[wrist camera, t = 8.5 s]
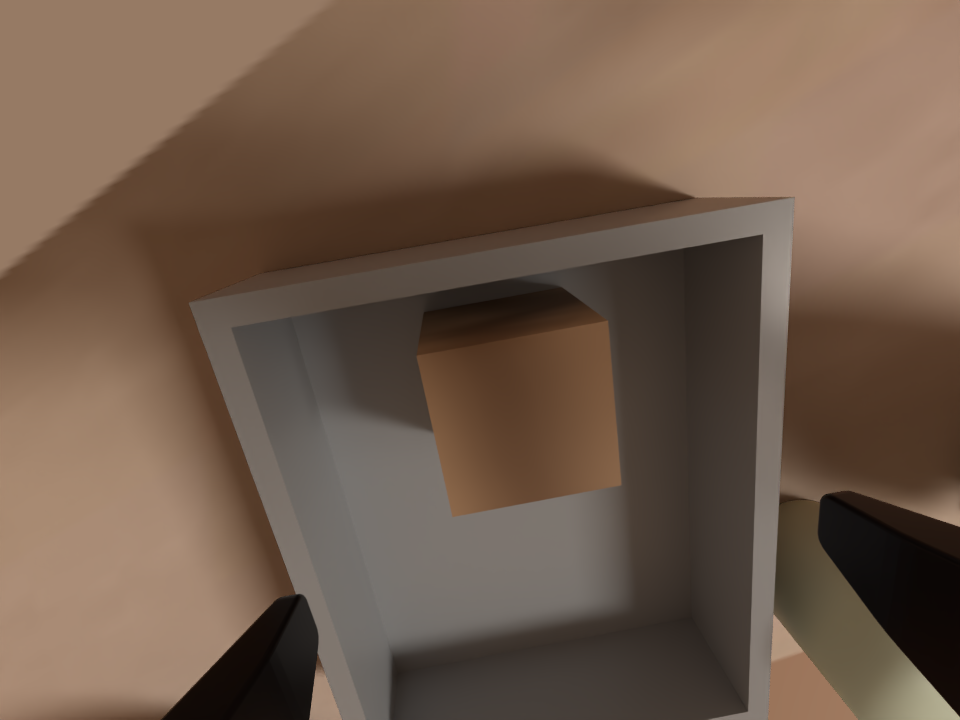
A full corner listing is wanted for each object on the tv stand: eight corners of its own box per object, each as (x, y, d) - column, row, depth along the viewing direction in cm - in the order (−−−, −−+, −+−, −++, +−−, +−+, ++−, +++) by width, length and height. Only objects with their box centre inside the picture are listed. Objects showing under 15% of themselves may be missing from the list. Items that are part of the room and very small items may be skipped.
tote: (696, 197, 17) (794, 197, 12) (701, 616, 23) (767, 722, 19) (260, 273, 17) (188, 302, 12) (386, 676, 23) (371, 799, 18)
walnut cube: (562, 287, 17) (607, 320, 12) (576, 412, 19) (621, 485, 14) (423, 312, 17) (416, 356, 12) (449, 436, 19) (452, 517, 14)
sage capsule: (844, 490, 22) (1022, 618, 15) (835, 577, 23) (992, 727, 17) (737, 510, 22) (867, 648, 15) (735, 596, 23) (852, 755, 17)
